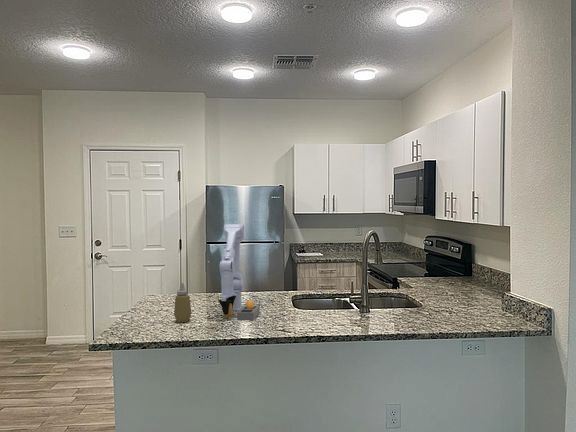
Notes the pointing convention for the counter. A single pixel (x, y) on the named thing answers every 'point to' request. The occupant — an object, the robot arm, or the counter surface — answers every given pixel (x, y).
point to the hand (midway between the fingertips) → (228, 312)
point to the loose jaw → (229, 312)
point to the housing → (248, 311)
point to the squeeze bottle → (182, 305)
